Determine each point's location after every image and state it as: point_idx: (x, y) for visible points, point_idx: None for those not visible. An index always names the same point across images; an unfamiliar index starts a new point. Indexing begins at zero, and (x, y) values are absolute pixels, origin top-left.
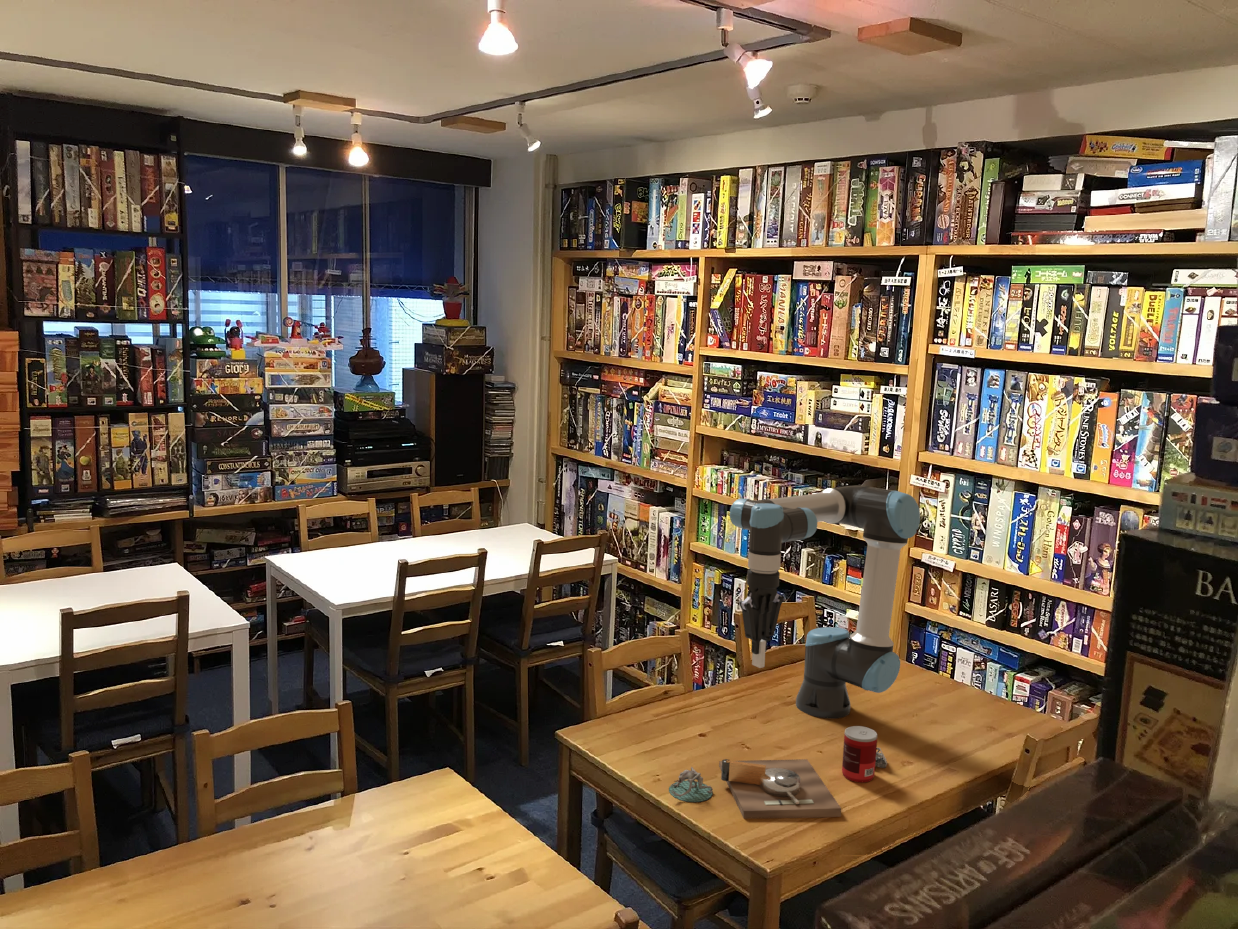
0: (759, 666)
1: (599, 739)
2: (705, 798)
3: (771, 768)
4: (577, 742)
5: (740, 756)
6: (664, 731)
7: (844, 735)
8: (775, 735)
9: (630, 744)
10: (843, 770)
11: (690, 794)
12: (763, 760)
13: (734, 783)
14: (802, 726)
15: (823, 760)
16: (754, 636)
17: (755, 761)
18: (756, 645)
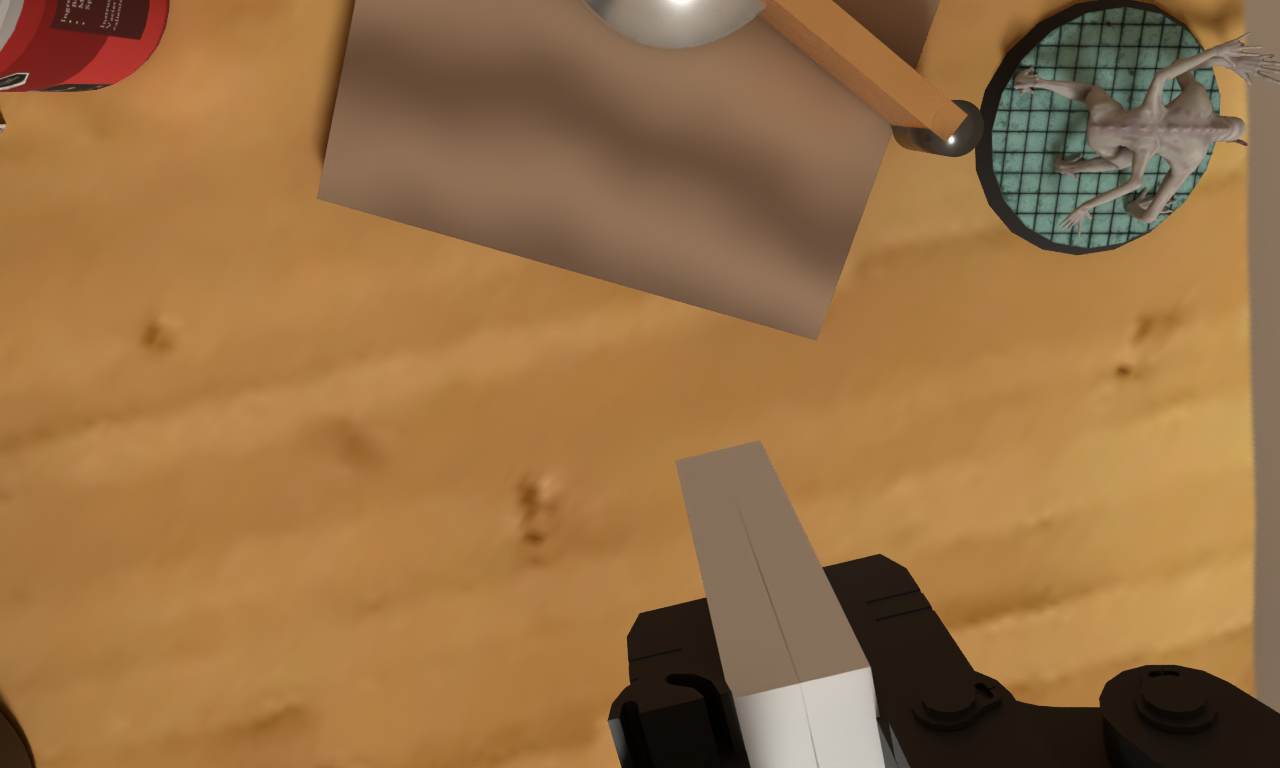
0: (766, 458)
1: None
2: (1087, 24)
3: (667, 44)
4: None
5: (620, 420)
6: None
7: (24, 27)
8: (309, 575)
9: (1058, 685)
10: (158, 7)
11: (1131, 94)
12: (578, 269)
13: None
14: (105, 626)
15: (189, 235)
16: (1202, 730)
17: (628, 273)
18: (940, 645)
